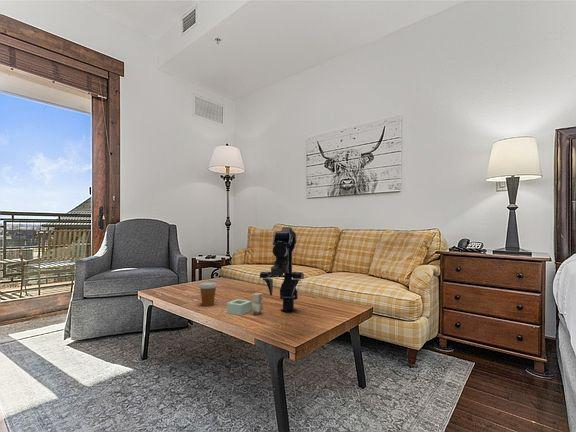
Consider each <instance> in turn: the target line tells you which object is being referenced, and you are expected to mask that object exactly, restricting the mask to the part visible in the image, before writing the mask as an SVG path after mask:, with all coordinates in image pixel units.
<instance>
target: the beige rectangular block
mask: <svg viewBox="0 0 576 432" xmlns="http://www.w3.org/2000/svg"><path fill="white" fill-rule="evenodd" d="M263 297H264V296H263V293H262V292H260V293H259V292H255V293H251V301H252V311H251V312H252V313H253V315H256V316H257V315H260V314H262V311H263V310H264V309H263V308H264V306H263V304H264V303H263V300H264V298H263Z"/></svg>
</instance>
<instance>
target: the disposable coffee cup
mask: <svg viewBox="0 0 576 432" xmlns="http://www.w3.org/2000/svg"><path fill="white" fill-rule="evenodd" d="M217 285H218V284H217V282H215V281H214V282H213V281H204V282H201V283H200V284H199V288H200V296H201V305H202V306H203V307H211V306H214V304H215V296H216V289H217Z"/></svg>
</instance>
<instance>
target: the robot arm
mask: <svg viewBox="0 0 576 432" xmlns="http://www.w3.org/2000/svg"><path fill="white" fill-rule="evenodd" d="M296 244H297V233H296V232H295V231H294V230H293V228H292V227H290V226H288V227H287V226H284V227H282V228H281V230H280V231H279V230H276V231H275V233H273V237H272V246H273V247H272V255H274V257H275V261H274V265H272V266H271V267H270V271H260V273H259V279H262V281H264V282H265V283H266V285H267V289H268V292H269V295H270V296H273V290H274V289H273V286H274V285H273V284H274V279H273V278H283V281H282V284H281V285H280V288H279V298H280V300H282V308H281V309H280V312H284V313H285V312H286V313H292V312H294V311H297V307H295V300H296V301H297V300H298V299H299V298H298V296H299V295H298V290H297V288H296V287H297V286H298V284H299V282H301V281H302V279H303V280H304V279H305V273H304V272H302V271H293V251H294V250H295V248H296Z"/></svg>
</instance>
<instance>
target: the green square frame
mask: <svg viewBox="0 0 576 432" xmlns="http://www.w3.org/2000/svg"><path fill="white" fill-rule="evenodd" d="M249 312H253V311H252V300H246V299H239V298H237V299H235V300H231V301H227V302H226V313H227V314H231V315H232V314H233V315H236V316H237V315H238V316H243V315H245V314H248V313H249Z"/></svg>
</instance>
